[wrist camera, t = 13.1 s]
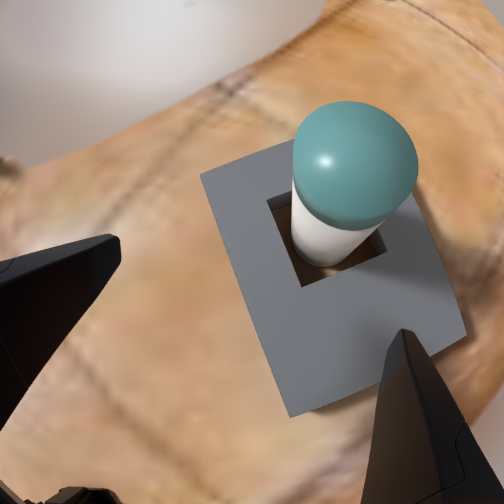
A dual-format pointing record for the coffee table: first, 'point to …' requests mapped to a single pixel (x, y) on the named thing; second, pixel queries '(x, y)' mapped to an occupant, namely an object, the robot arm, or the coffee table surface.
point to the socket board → (328, 287)
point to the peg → (347, 178)
